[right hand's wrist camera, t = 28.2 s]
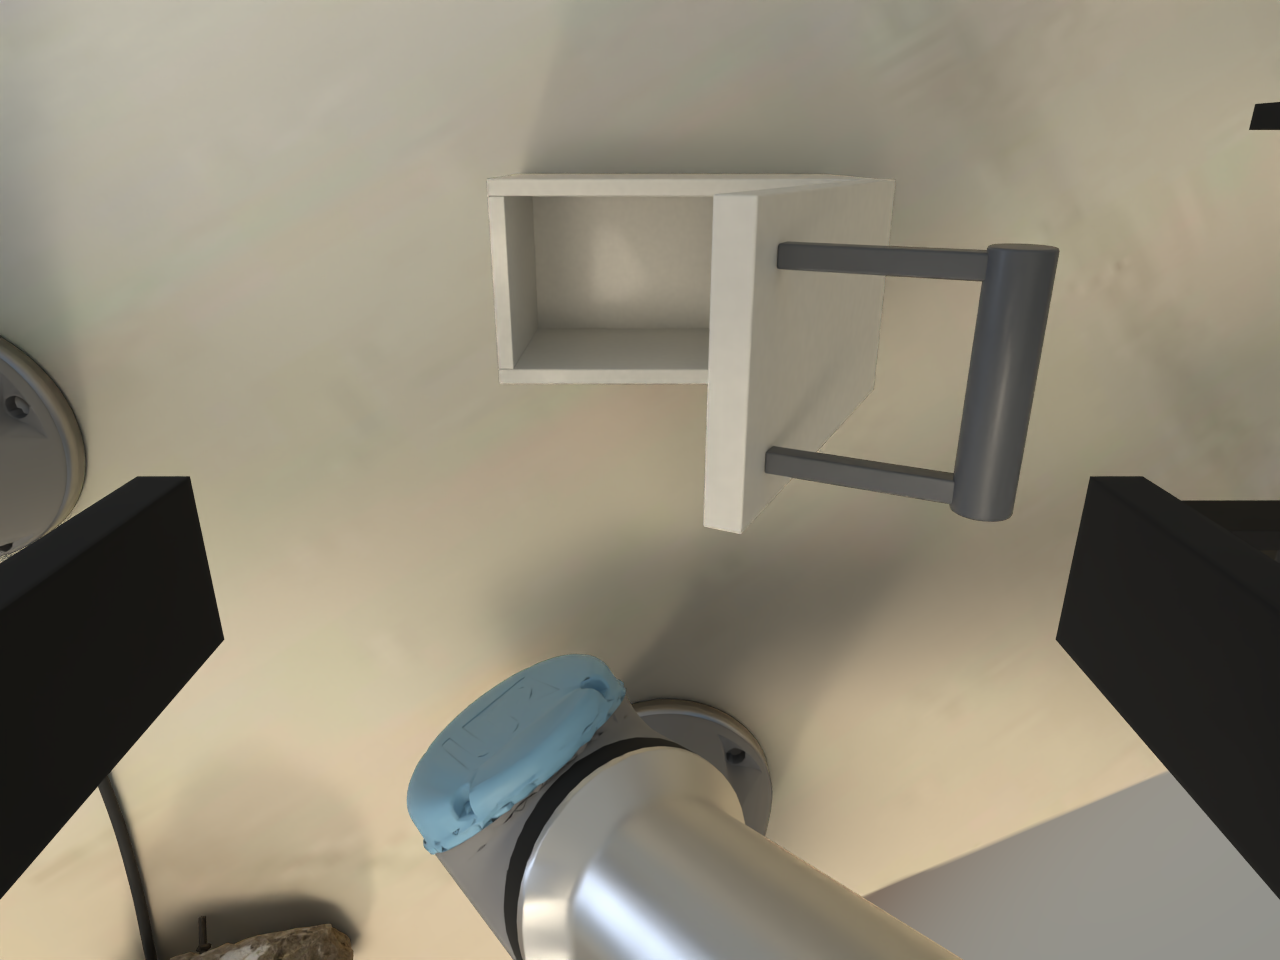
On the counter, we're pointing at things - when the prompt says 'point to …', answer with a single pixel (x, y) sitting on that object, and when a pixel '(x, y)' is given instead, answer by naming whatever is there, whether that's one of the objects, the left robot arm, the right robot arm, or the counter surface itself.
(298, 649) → the counter surface
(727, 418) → the lid
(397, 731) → the counter surface
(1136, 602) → the right robot arm
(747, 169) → the counter surface
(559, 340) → the chest
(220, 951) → the fossil
